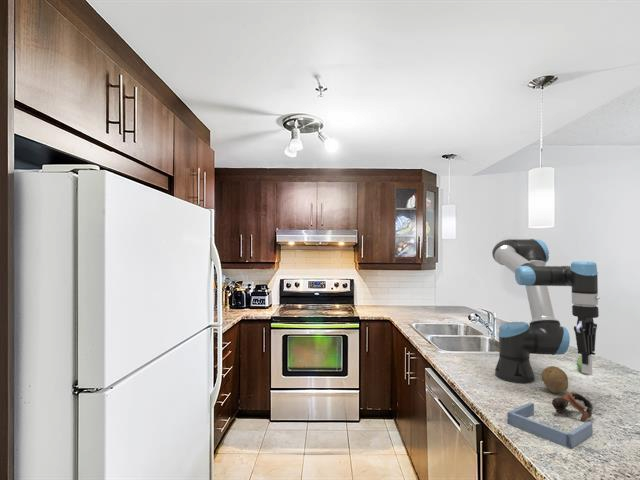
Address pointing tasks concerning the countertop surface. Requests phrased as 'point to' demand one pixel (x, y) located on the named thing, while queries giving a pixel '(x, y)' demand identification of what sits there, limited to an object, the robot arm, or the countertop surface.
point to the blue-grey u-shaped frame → (548, 427)
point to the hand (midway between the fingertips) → (587, 373)
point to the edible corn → (579, 364)
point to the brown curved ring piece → (573, 404)
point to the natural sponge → (555, 379)
